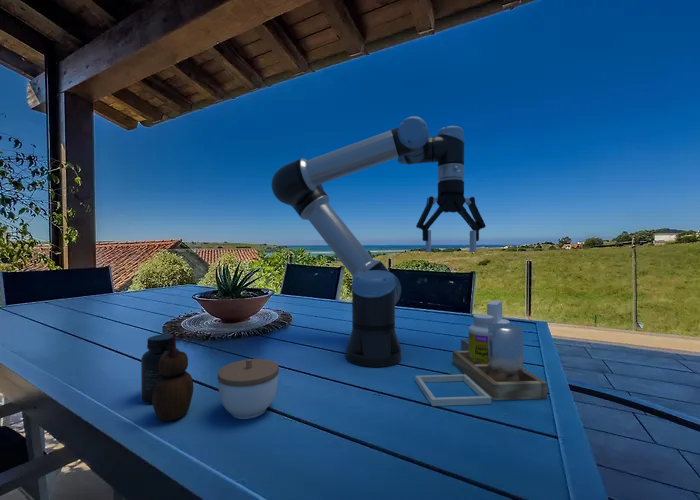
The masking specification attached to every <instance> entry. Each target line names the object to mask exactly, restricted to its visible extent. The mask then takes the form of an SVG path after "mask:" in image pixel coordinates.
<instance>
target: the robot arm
mask: <svg viewBox="0 0 700 500" xmlns="http://www.w3.org/2000/svg"><path fill="white" fill-rule="evenodd" d="M395 159H397V163H398V164H400V165H416V164H417V165H418V164H427V163H428V164H429V163H437V181H438V183H437V197H434V196H432V195H431V196H428V197H427V199H426V205H425V207H424V208H423V210H422V213H421V215H420V217H419V219H418V221H417V223H416V225H415V227H416V228H417V229H420V230H421V231H422V241H423V242H425V253H432V230H431V229H429V228H430V227H431V226H432V225H433V224H434V223H435V222H436V221H437V219H438V218H439V217H440V216H441V214H442V213H445V214H446V213H452V214H453V213H454V214H455V213H457V214H458V215H460V216H461V217H462V218H463V220H464V221H465V223H466V224H467V225H468V226H469V227H470V229H471V230H469V253H477V242H479V241H480V230H482V229H485V228H486V223H485V221H484V220H483V216H482V215H481V213H480V211H479V209H478V207H477V204H476V199H475V196H470V197H466V198H465V181H464V179H465V133H464V129H463V128H462V127H461V126H458V125H447V126H444V127H441V128H439V130H437V134H436V136H435V135H434V136H430V131H429V128H428V124H427V123H426V121H425V120H424V119H423V118H421V117H419V116H416V115H415V116H413V115H412V116H407V118H405V119H404V120H402V121H401V123H400V124H399V126H397V127H395V128H393V129H391V130H387V131H385V132H382V133H380V134H377V135H373V136H371V137H368V138H365V139H363V140H360V141H358V142H354V143H352V144H348V145H346V146H343V147H340V148H338V149H335V150H332V151H330V152H327V153H324V154H321V155H318V156H315V157H313V158H311V159H307V158H303V157H302V158H300V159H296V160H293V161H292V162H289V163H286V164H284V165H282V166H281V167H280V168H278V169H277V170H276V171H275V172H274V174H273V176H272V179H271V191H272V193H273V195H274V197H275V198H276V199H277V200H278V201H279V202H280V203H283V204H284V205H288V206H291V207H292V209H293V210H294V211H295V212H296V213H297V215H298V216H299V218H300V219H301V220H307V221H309V223H310V224H311V225H312V226H313V227H314V230H316V231H317V233H318V234H319V235H320V237H321V238H322V239H323V240H324V242H325V243H326V244H327V246H328V247H329V248H330V249H331V251H332V252H333V253H334V254H335V256H336V257H337V258H338V259H339V261H340V262H341V264H342V265H343V266H344V267H345V269H346V270H347V271H348V272H349V274H350V275H351V277H352V282H351V293H352V294H351V300H352V301H351V303H352V304H351V306H352V309H351V315H352V316H351V317H352V320H351V321H352V322H351V323H352V324H351V327H352V328H351V332H350V335H349V339H348V342H347V344H346V345H347V346H346V348H345V358H346V360H347V362H349V363H351V364H353V365H358V366H360V367H361V366H362V367H367V368H368V367H369V368H381V367H383V368H385V367H389V366H394V365H396V364H398V363H400V362H401V361H402V349H401V345H400V342H399V338H398V335H397V332H396V305H397V304H398V302H399V301H400V299H401V296H402V286H401V282H400V280H399V278H398V277H397V276H396V275H395V274H394V273H393V272H391V271H389V269H388V268H387V267H386V265H384V264H383V262H382V261H381V260H377V259H376V260H375V259H374V258H373V257H372V256H371V255H370V254H369V251H367V249H366V248H365V247H364V246H363V245H362V243H361V242H360V241H359V240H358V239H357V237H356V236H355V235H354V233H353V232H352V231H351V230H350V228H349V227H348V226H347V225H346V224H345V222H344V221H343V220H342V218H341V217H340V216H339V215H338V213H337V212H336V211H335V210H334V209H333V208H332V206H331V205H330V197H329V195H328V194H327V192H326V191H325V189H324V187H323V185H322V184H326V183H328V182H331V181H334V180H337V179H340V178H343V177H345V176H349V175H352V174H355V173H357V172H360V171H363V170H367V169H369V168H372V167H374V166H377V165H381V164H384V163H386V162H389V161H392V160H395ZM435 204H437V205H438V207H437V208H436V210H435V211H434V212H433V214H432V215H431V216H430V218H429V219H427V218H428V216H429V215H430V212H431V209H432V208H433V205H435ZM465 204H466V206H467V207H468V209H469V211H470V213H471V215H472V216H471V215H470V214H469V213H468V211H467V209H466V207H465V206H464V205H465Z"/></svg>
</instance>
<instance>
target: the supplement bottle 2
mask: <svg viewBox="0 0 700 500" xmlns="http://www.w3.org/2000/svg"><path fill="white" fill-rule="evenodd" d="M472 321H473V324H471V325H470V326H469V328H468V339H469V361H470V362H472V363H473V364H488V325H489V324H493V322H494V317H493V316H491V315H487V313H486V314H485V313H483V314H482V313H475V314H473V315H472Z"/></svg>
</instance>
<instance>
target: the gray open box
mask: <svg viewBox="0 0 700 500" xmlns="http://www.w3.org/2000/svg"><path fill="white" fill-rule="evenodd" d="M460 351H469V338H461V339H460Z"/></svg>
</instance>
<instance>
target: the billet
mask: <svg viewBox="0 0 700 500" xmlns="http://www.w3.org/2000/svg"><path fill="white" fill-rule="evenodd" d="M523 369H524V328H523V326H519V325H516V324H511V323H510V324H502V323H495V324H489V325H488V376H490V377H491V378H492V379H493V380H495V381H496V382H513V381H523Z"/></svg>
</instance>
